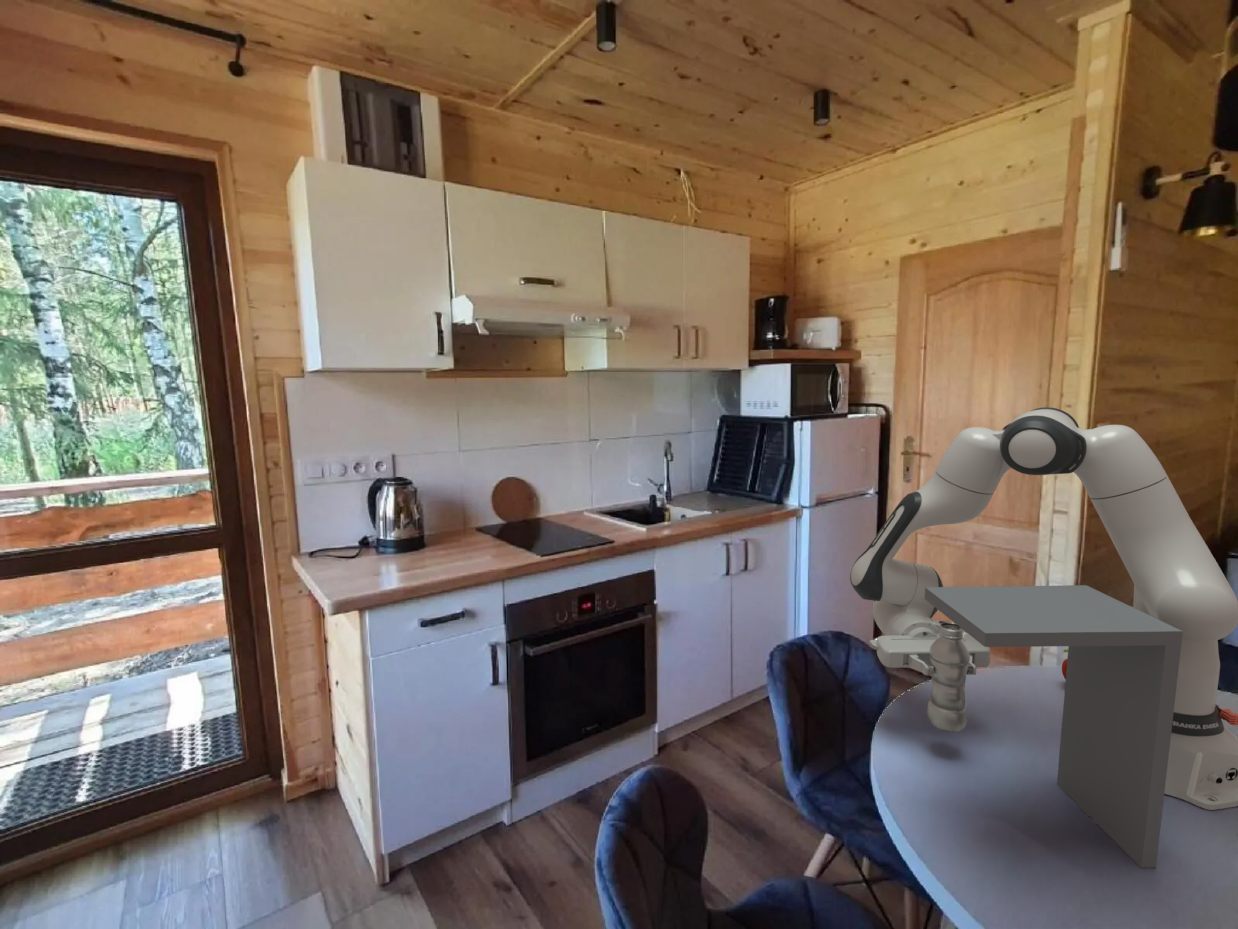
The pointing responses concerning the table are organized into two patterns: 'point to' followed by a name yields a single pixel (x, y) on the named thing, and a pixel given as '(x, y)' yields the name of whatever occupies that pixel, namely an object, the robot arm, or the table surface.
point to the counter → (1093, 694)
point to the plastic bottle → (948, 679)
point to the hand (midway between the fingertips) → (951, 671)
